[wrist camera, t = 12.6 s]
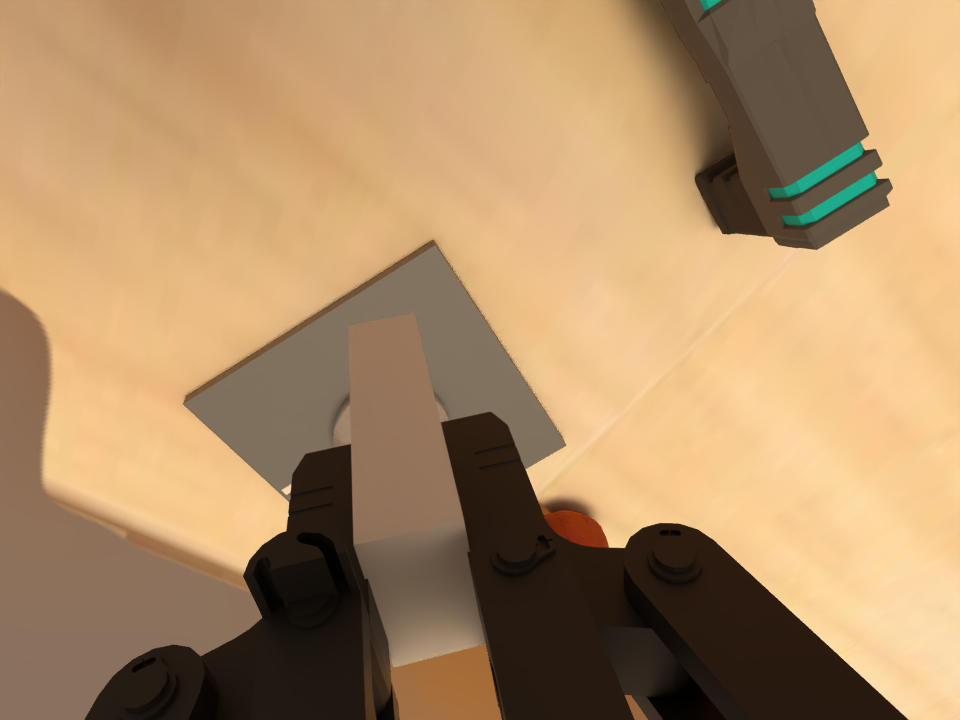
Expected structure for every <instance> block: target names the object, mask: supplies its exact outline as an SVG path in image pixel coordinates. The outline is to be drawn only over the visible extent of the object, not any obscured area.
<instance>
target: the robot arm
mask: <svg viewBox="0 0 960 720" xmlns="http://www.w3.org/2000/svg"><path fill="white" fill-rule="evenodd" d="M348 342H349V382H350V422H351V444H348V445H343V446H338V447H334V448H329V449H325V450H320V451H316V452H311V453H306V454H305V455H304V457H303V458H302V460H301V461H300V463H299V465H298V466H297V468H296V469H295V471H294V472H293V474H292V482H291V492H290V496H291V499H290V502H289V512H288V513H289V517H288V522H287V531H285V532H283V533H280V534H278V535H277V536H275V537H274V538H272V539H271V540H269V541H268V542H266V543H265V544H263V545H262V546H261V547H260V548H259V550H258V551H257V552H256V553H255V554H254V555H253V557H252V558H251V559H250V560H249V563H248V565H247V568H246V570H245V573H244V575H243V577H244V579H245V581H246V583H247V585H248V587H249V590H250V592H251V594H252V596H253V598H254V600H255V602H256V604H257V606H258V608H259V611H260V613H261V615H262V617H263V618H262V619H261V620H259V621H258V622H257V623H256V624H255V625H254V626H253V627H251V628H250V629H249V630H247V631H246V632H244V633H243V634H241V635H240V636H238V637H236V638H235V639H233V640H231V641H229V642H227V643H225V644H223V645H221V646H220V647H218V648H216V649H214V650H212V651H210V652H208V653H206V654H204V655H203V656H201V657H200V656H199V655H198V654H197V653H196V652H195V651H194V650H192V649H191V648H190V647H185V646H179V645H170V646H165V647H160V648H155V649H152V650H151V651H149V652H147V653H145V654H143V655H141V656H139V657H137V658H135V659H133V660H132V661H131V662H129V663H128V664H127V665H126V666H124V667H123V668H122V669H121V670H120V671H118V672H117V673H116V674H115V675H114V676H113V677H112V678H111V680H110V681H109V682H108V683H107V685H106V686H105V687H104V689H103V690H102V691H101V693H100V694H99V695H98V697H97V699H96V701H95V702H94V704H93V706H92V708H91V709H90V711H89V713H88V714H87V716H86V718H85V720H399V708H398V701H397V698H396V695H395V692H394V689H393V686H392V683H391V671H390V659H389V655H390V658H391V661H392V664H393V667H398V666H402V665H406V664H409V663H413V662H417V661H421V660H425V659H429V658H433V657H437V656H441V655H445V654H448V653H452V652H456V651H460V650H464V649H468V648H472V647H476V646H480V645H484V644H486V647H487V652H488V656H489V661H490V666H491V671H492V676H493V681H494V687H495V692H496V697H497V702H498V707H499V708H500V713H501V717H502V720H634V718H633V715H632V713H631V710H630V708H629V705H628V703H627V700H626V698H625V695H632V697H633V699H634V700H635V701H636V703H637V704H638V706H639V707H640V708H641V710H642V711H643V713H644V714H645V715H646V717H647V718H648V720H908V719H907V718H906V717H905V716H904V715H903V714H902V713H901V712H899V711H898V710H897V709H896V708H895V707H894V706H893V705H892V704H891V703H890V702H889V701H888V700H886V699H885V698H884V697H883V696H882V695H881V694H880V693H879V692H878V691H877V690H876V689H874V688H873V687H872V686H871V685H870V684H869V683H868V682H867V681H866V680H865V679H864V678H863V677H861V676H860V675H859V674H858V673H857V672H856V671H855V670H854V669H853V668H852V667H851V666H850V665H848V664H847V663H846V662H845V661H844V660H843V659H842V658H841V657H840V656H839V655H838V654H837V653H835V652H834V651H833V650H832V649H831V648H830V647H829V646H828V645H827V644H826V643H825V642H824V641H822V640H821V639H820V638H819V637H818V636H817V635H816V634H815V633H814V632H813V631H812V630H811V629H809V628H808V627H807V626H806V625H805V624H804V623H803V622H802V621H801V620H800V619H799V618H797V617H796V616H795V615H794V614H793V613H792V612H791V611H790V610H789V609H788V608H787V607H786V606H784V605H783V604H782V603H781V602H780V601H779V600H778V599H777V598H776V597H775V596H774V595H773V594H771V593H770V592H769V591H768V590H767V589H766V588H765V587H764V586H763V585H762V584H761V583H760V582H758V581H757V580H756V579H755V578H754V577H753V576H752V575H751V574H750V573H749V572H748V571H747V570H745V569H744V568H743V567H742V566H741V565H740V564H739V563H738V562H737V561H736V560H735V559H734V558H732V557H731V556H730V555H729V554H728V553H727V552H726V551H725V550H724V549H723V548H722V547H720V546H719V545H718V544H717V543H716V542H715V541H714V540H713V539H711V538H710V537H708V536H707V535H705V534H704V533H702V532H701V531H699V530H698V529H694V528H691V527H688V526H685V525H682V524H673V523H659V524H655V525H651V526H648V527H644V528H642V529H641V530H639V531H638V532H637V533H635V534H634V535H633V536H631V537H630V539H629V541H628V543H627V545H626V547H625V548H604V547H591V546H583V545H580V544H577V543H574V542H571V541H568V540H567V539H565V538H563V537H562V536H560V535H558V534H557V533H556V532H555V531H554V530H553V529H552V528H551V527H550V526H549V524H548V523H547V521H546V519H545V518H544V515H543V513H542V510H541V508H540V505H539V503H538V500H537V498H536V495H535V493H534V490H533V488H532V485H531V483H530V480H529V477H528V475H527V472H526V470H525V467H524V465H523V462H522V461H521V457H520V455H519V452H518V450H517V447H516V446H515V442H514V440H513V437H512V435H511V432H510V429H509V427H508V425H507V424H506V423H505V422H504V421H502V420H501V419H500V418H498V417H497V416H496V415H495V414H493V413H492V412H491V411H490V412H486V413H481V414H477V415H472V416H467V417H463V418H458V419H454V420H449V421H444V422H440V417H439V413H438V409H437V405H436V401H435V397H434V392H433V388H432V384H431V380H430V376H429V371H428V367H427V363H426V359H425V355H424V350H423V346H422V342H421V338H420V334H419V330H418V325H417V321H416V317H415V313H411V314H406V315H401V316H396V317H391V318H386V319H381V320H376V321H371V322H366V323H361V324H356V325H351V326H348Z"/></svg>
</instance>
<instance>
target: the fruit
mask: <svg viewBox="0 0 960 720" xmlns="http://www.w3.org/2000/svg"><path fill="white" fill-rule="evenodd" d="M544 518H545V519H546V521H547V523H548V524H549V526H550V527H551V528H552V529H553V530H554V531H555V532H556V533H557V534H558V535H560V536H562V537H563V538H565V539H567V540H568V541H571V542H574V543H577V544H580V545H583V546H591V547H604V548H609V546H608V542H607V539H606V536H605V534H604V532H603V530H602V528H601V526H600V525H599V524H598V523H597V522H596V521H595V520H594V519H592V518H590V517H589V516H587V515H585V514H582V513H578V512H574V511H569V510H562V511H557V512H554V513H551V514H547V515H545V516H544Z"/></svg>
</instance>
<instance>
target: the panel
mask: <svg viewBox="0 0 960 720" xmlns="http://www.w3.org/2000/svg"><path fill="white" fill-rule="evenodd" d="M411 313H415V317H416V321H417V325H418V330H419V334H420V338H421V342H422V346H423V350H424V355H425V359H426V363H427V367H428V371H429V376H430V380H431V384H432V388H433V392H434V393H435V394H436V395H437V396H438V397H439V398H440V400H441V401H442V402H443V404H444V406H445V408H446V412H447V415H448V419H449V420H454V419H458V418H463V417H467V416H472V415H477V414H481V413H486V412H490V411H491V412H492V413H493V414H495V415H496V416H497V417H498V418H500V419H501V420H502V421H504V422H505V423H506V424H507V425H508V427H509V429H510V432H511V435H512V437H513V440H514V442H515V446H516V447H517V450H518V452H519V455H520V457H521V461H522V462H523V465H524V467H525V469H527V468H528V467H530V466H532V465H534V464H535V463H537V462H539V461H541V460H542V459H544V458H546V457H547V456H549V455H551V454H553V453H554V452H556V451H558V450H560V449H561V448H563V447H565V446H566V444H565V442H564V440H563V438H562V436H561V435H560V433H559V432H558V430H557V429H556V427H555V426H554V424H553V422H552V421H551V419H550V418H549V416H548V415H547V413H546V412H545V410H544V409H543V407H542V406H541V404H540V403H539V401H538V400H537V398H536V396H535V395H534V393H533V392H532V390H531V389H530V387H529V386H528V384H527V383H526V381H525V380H524V378H523V377H522V375H521V374H520V372H519V370H518V369H517V367H516V366H515V364H514V363H513V361H512V360H511V358H510V357H509V355H508V354H507V352H506V351H505V349H504V348H503V346H502V344H501V343H500V341H499V340H498V338H497V337H496V335H495V334H494V332H493V331H492V329H491V328H490V326H489V325H488V323H487V321H486V320H485V318H484V317H483V315H482V314H481V312H480V311H479V309H478V308H477V306H476V305H475V303H474V302H473V300H472V299H471V297H470V295H469V294H468V292H467V291H466V289H465V288H464V286H463V285H462V283H461V282H460V280H459V279H458V277H457V276H456V274H455V273H454V271H453V269H452V268H451V266H450V265H449V263H448V262H447V260H446V259H445V257H444V256H443V254H442V253H441V251H440V250H439V248H438V246H437V245H436V243H435V242H434V240H433V241H431V242H429V243H428V244H426V245H425V246H423V247H422V248H420V249H418V250H417V251H415V252H414V253H412V254H410V255H409V256H407V257H406V258H404V259H403V260H401V261H399V262H398V263H396V264H395V265H393V266H391V267H390V268H388V269H387V270H385V271H384V272H382V273H380V274H379V275H377V276H376V277H374V278H372V279H371V280H369V281H368V282H366V283H365V284H363V285H361V286H360V287H358V288H357V289H355V290H354V291H352V292H350V293H349V294H347V295H346V296H344V297H342V298H341V299H339V300H338V301H336V302H335V303H333V304H331V305H330V306H328V307H327V308H325V309H323V310H322V311H320V312H319V313H317V314H316V315H314V316H312V317H311V318H309V319H308V320H306V321H304V322H303V323H301V324H300V325H298V326H297V327H295V328H293V329H292V330H290V331H289V332H287V333H286V334H284V335H282V336H281V337H279V338H278V339H276V340H274V341H273V342H271V343H270V344H268V345H267V346H265V347H263V348H262V349H260V350H259V351H257V352H255V353H254V354H252V355H251V356H249V357H248V358H246V359H244V360H243V361H241V362H240V363H238V364H236V365H235V366H233V367H232V368H230V369H229V370H227V371H225V372H224V373H222V374H221V375H219V376H218V377H216V378H214V379H213V380H211V381H210V382H208V383H206V384H205V385H203V386H202V387H200V388H199V389H197V390H195V391H194V392H192V393H191V394H189V395H187V396H186V398H185V400H184V403H183V405H184V406H185V407H186V408H188V409H189V410H190V411H191V412H192V413H193V414H194V415H195V416H196V417H197V418H198V419H199V420H201V421H202V422H203V423H204V424H205V425H206V426H207V427H208V428H209V429H210V430H211V431H213V432H214V433H215V434H216V435H217V436H218V437H219V438H220V439H221V440H222V441H223V442H225V443H226V444H227V445H228V446H229V447H230V448H231V449H232V450H233V451H234V452H235V453H236V454H238V455H239V456H240V457H241V458H242V459H243V460H244V461H245V462H246V463H247V464H248V465H250V466H251V467H252V468H253V469H254V470H255V471H256V472H257V473H258V474H259V475H260V476H261V477H263V478H264V479H265V480H266V481H267V482H268V483H269V484H270V485H271V486H272V487H273V488H275V489H276V490H277V491H278V492H279V493H280V494H281V495H282V496H283V497H284V498H285V499H287V500H288V501H289V502H290V499H291V496H290V492H291V482H292V474H293V472H294V471H295V469H296V468H297V466H298V465H299V463H300V461H301V460H302V458H303V457H304V455H305V454H306V453H311V452H316V451H320V450H325V449H329V448H334V445H333V431H334V420H335V416H336V414H337V411H338V409H339V408H340V406H341V404H342V403H343V402H344V401H345V399H346V398H347V397H348V396H349V395H350V382H349V342H348V326H351V325H356V324H361V323H366V322H371V321H376V320H381V319H386V318H391V317H396V316H401V315H406V314H411Z"/></svg>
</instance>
